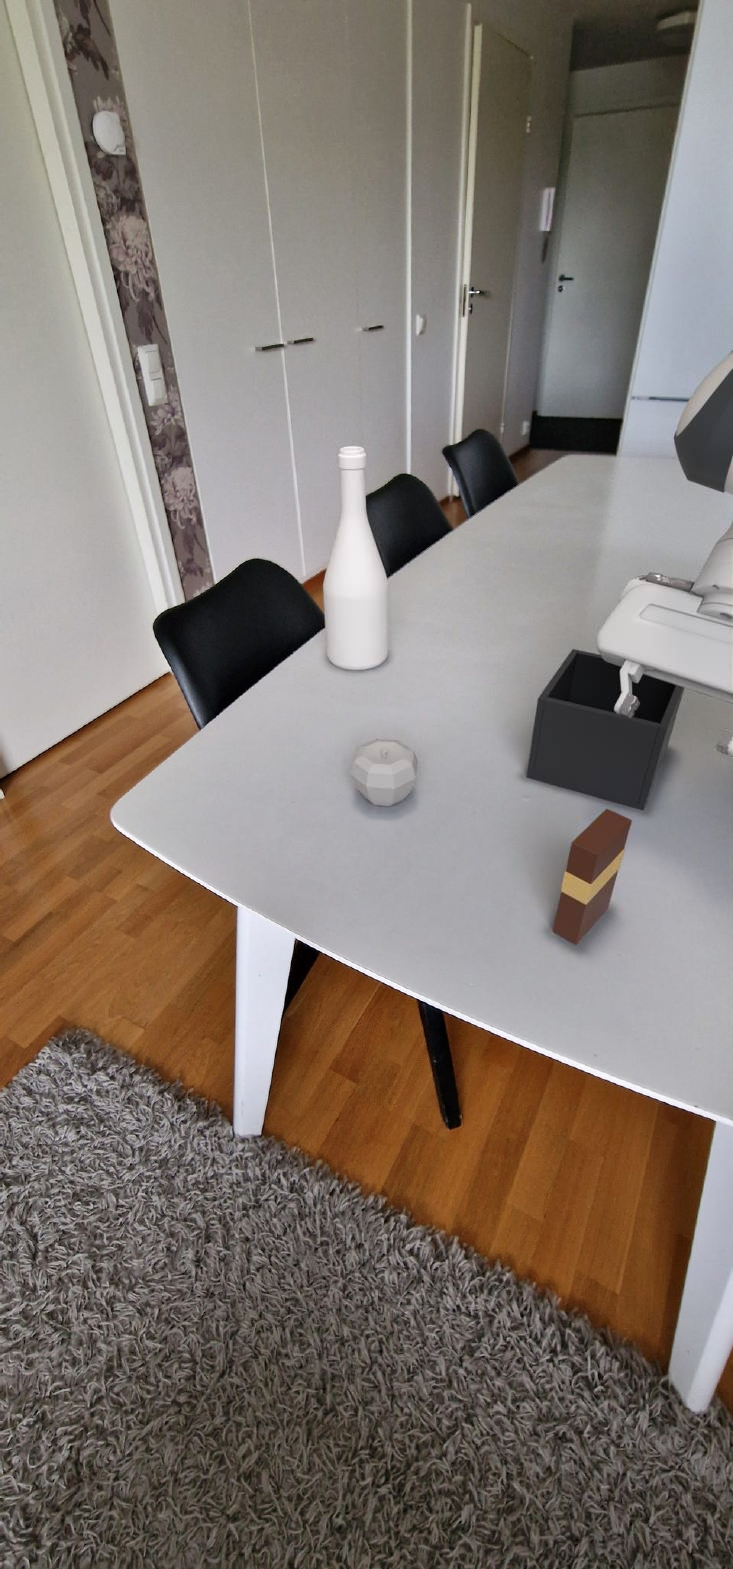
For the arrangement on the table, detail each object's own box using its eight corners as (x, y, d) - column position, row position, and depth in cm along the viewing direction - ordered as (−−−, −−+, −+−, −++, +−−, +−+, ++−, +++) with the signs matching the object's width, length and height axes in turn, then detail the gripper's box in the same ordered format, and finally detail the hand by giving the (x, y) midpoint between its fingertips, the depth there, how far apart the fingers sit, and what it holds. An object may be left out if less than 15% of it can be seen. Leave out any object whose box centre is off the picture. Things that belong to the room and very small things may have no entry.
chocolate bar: (608, 908, 67) (633, 819, 60) (576, 945, 63) (598, 856, 57) (585, 895, 68) (606, 807, 61) (551, 931, 65) (570, 842, 58)
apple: (427, 812, 79) (429, 764, 75) (359, 824, 77) (358, 776, 73) (406, 771, 85) (407, 725, 81) (343, 782, 83) (341, 736, 80)
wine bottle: (392, 646, 112) (393, 441, 94) (382, 674, 105) (381, 458, 87) (334, 642, 114) (324, 440, 96) (320, 670, 106) (307, 456, 88)
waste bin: (666, 749, 88) (688, 672, 81) (643, 810, 78) (667, 728, 72) (559, 723, 93) (572, 648, 87) (526, 777, 84) (537, 698, 77)
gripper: (629, 551, 66) (559, 682, 66) (877, 609, 54) (791, 767, 55) (641, 583, 71) (575, 705, 71) (869, 643, 59) (790, 786, 60)
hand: (671, 732), depth 63 cm, fingers open, 8 cm apart
